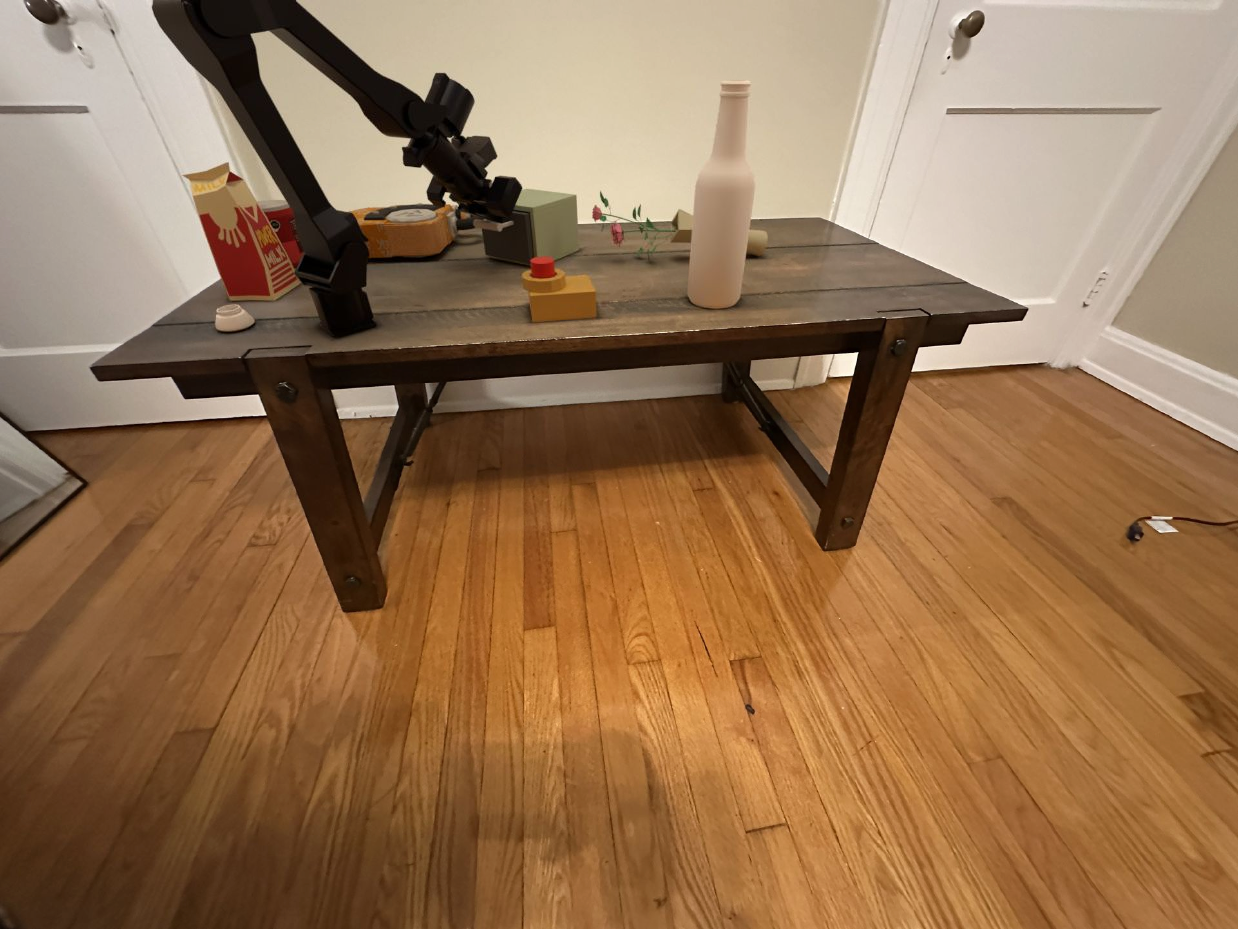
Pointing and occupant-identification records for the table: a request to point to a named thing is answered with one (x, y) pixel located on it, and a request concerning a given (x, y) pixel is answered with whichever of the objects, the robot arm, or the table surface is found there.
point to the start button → (542, 267)
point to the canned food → (284, 227)
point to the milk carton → (240, 237)
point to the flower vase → (674, 230)
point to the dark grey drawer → (508, 237)
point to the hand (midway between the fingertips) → (500, 221)
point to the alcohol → (723, 207)
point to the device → (411, 228)
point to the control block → (560, 297)
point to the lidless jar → (232, 318)
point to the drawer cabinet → (550, 222)
